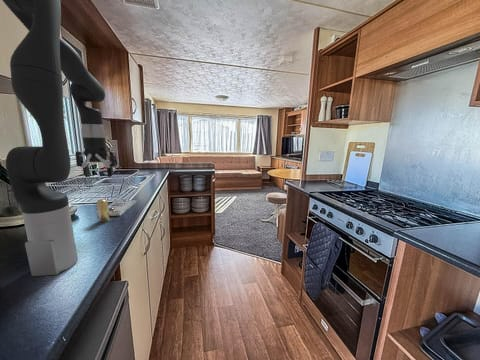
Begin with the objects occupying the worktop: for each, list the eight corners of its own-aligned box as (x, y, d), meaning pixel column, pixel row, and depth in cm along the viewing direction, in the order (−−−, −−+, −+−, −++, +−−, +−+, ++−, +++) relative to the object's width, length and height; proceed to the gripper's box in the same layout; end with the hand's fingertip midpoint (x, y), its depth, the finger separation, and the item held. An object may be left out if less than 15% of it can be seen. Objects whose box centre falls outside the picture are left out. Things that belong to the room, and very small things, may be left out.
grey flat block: (120, 215, 95) (119, 209, 94) (100, 216, 94) (99, 209, 93) (136, 202, 114) (135, 196, 114) (120, 202, 113) (119, 197, 113)
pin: (107, 221, 88) (104, 201, 86) (97, 222, 88) (95, 201, 86) (111, 218, 92) (108, 198, 90) (102, 218, 91) (99, 199, 89)
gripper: (67, 136, 78) (74, 178, 81) (108, 136, 79) (113, 178, 83) (80, 136, 85) (85, 175, 88) (117, 136, 87) (121, 174, 90)
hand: (99, 176), depth 86 cm, fingers open, 8 cm apart
